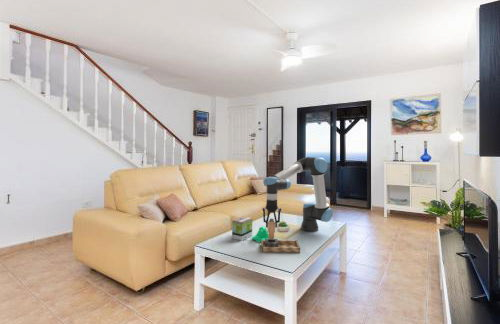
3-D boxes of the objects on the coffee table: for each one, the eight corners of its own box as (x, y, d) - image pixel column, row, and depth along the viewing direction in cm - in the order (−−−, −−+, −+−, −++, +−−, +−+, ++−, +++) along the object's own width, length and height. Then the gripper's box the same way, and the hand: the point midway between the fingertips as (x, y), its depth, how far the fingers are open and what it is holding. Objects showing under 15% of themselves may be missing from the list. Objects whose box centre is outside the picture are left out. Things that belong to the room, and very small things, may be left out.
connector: (273, 236, 186) (274, 218, 185) (274, 238, 182) (274, 219, 181) (268, 236, 186) (268, 218, 185) (268, 238, 182) (268, 219, 181)
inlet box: (296, 245, 191) (296, 237, 191) (300, 252, 177) (300, 244, 177) (261, 244, 191) (261, 237, 191) (261, 252, 177) (261, 244, 177)
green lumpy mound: (251, 240, 201) (251, 227, 200) (257, 237, 207) (257, 224, 207) (264, 243, 194) (265, 230, 193) (270, 240, 200) (270, 227, 200)
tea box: (242, 241, 199) (242, 222, 198) (231, 238, 204) (231, 220, 203) (252, 235, 211) (252, 217, 211) (242, 233, 217) (242, 215, 216)
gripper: (283, 198, 186) (282, 230, 187) (259, 197, 186) (259, 230, 187) (284, 200, 178) (284, 233, 180) (259, 200, 179) (259, 233, 180)
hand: (271, 231), depth 183 cm, fingers closed on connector, 4 cm apart
